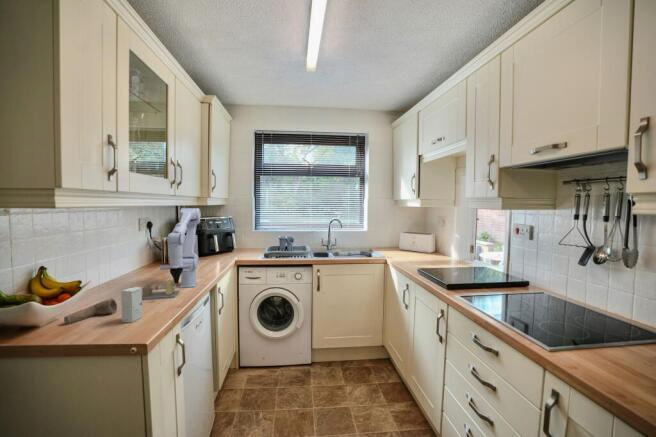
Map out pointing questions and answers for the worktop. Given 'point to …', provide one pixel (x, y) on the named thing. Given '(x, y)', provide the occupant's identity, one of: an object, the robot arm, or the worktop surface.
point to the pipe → (92, 311)
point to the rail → (157, 295)
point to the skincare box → (131, 304)
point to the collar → (170, 287)
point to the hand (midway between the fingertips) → (176, 283)
